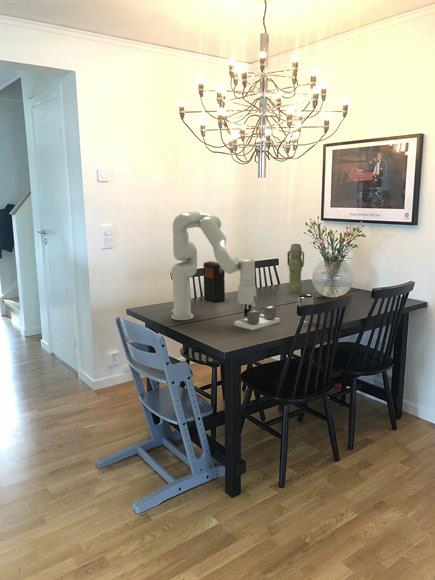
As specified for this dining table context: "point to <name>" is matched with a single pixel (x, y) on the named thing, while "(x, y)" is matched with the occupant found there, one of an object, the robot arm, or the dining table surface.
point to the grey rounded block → (253, 317)
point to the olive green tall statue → (295, 269)
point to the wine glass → (305, 301)
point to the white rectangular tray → (262, 323)
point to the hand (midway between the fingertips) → (247, 316)
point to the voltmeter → (214, 282)
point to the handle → (269, 312)
